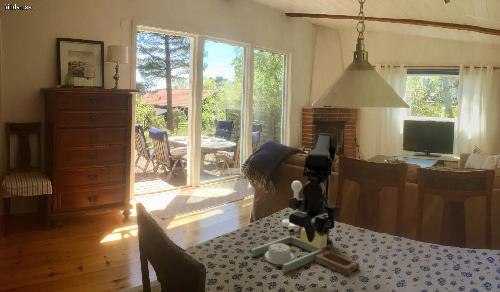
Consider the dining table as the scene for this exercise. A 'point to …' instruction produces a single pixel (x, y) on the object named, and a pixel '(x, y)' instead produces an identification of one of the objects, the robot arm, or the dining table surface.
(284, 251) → the mechanical component
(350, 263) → the rectangular frame
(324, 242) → the block
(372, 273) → the dining table surface
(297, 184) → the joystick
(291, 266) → the green u-shaped frame
